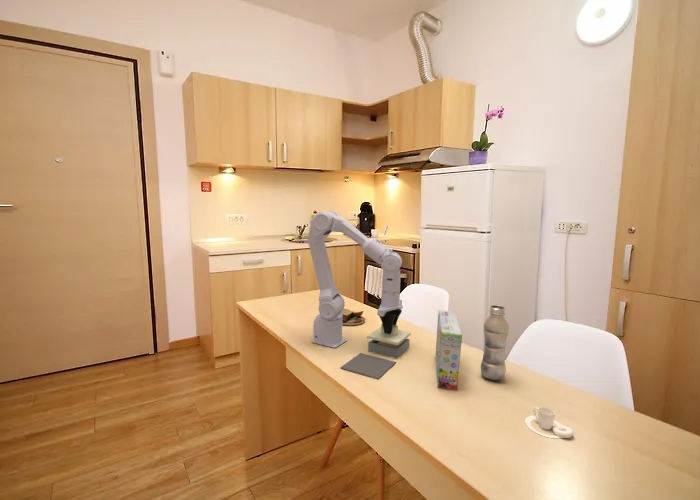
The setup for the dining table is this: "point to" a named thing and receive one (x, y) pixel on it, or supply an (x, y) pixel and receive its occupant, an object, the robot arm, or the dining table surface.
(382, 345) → the box
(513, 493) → the dining table surface
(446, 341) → the snack box
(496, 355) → the plastic bottle
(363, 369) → the mat
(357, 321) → the toy sandwich meal
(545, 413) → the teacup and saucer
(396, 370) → the dining table surface
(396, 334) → the lid
